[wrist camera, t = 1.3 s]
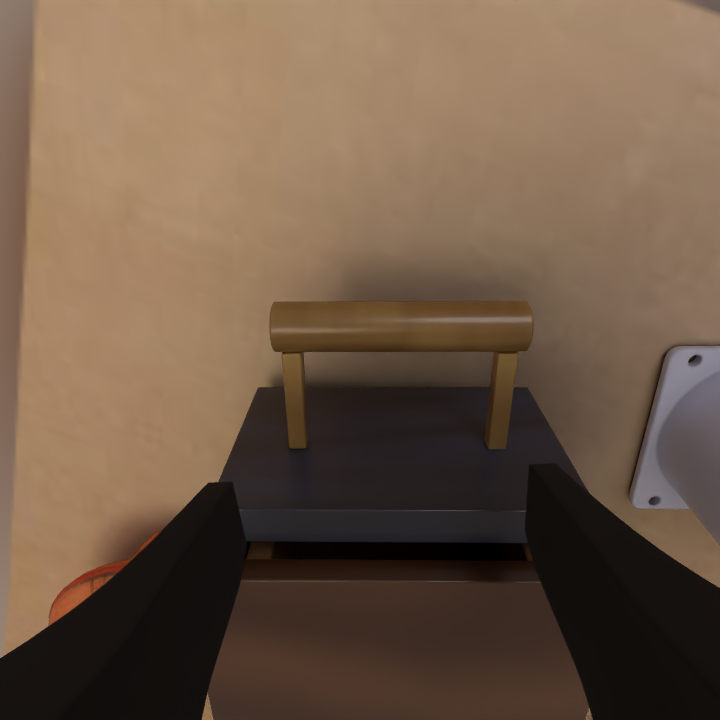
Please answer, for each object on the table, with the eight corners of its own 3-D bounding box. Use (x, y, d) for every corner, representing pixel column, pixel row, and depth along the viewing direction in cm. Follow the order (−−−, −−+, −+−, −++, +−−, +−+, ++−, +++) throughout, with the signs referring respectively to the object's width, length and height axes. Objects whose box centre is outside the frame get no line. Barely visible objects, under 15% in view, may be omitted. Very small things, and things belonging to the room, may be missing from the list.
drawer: (245, 267, 19) (178, 346, 12) (545, 265, 19) (640, 345, 12) (280, 604, 26) (250, 768, 20) (496, 606, 26) (538, 772, 19)
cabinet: (251, 411, 23) (183, 580, 14) (530, 412, 22) (624, 583, 14) (275, 627, 28) (237, 835, 20) (498, 629, 28) (551, 841, 20)
